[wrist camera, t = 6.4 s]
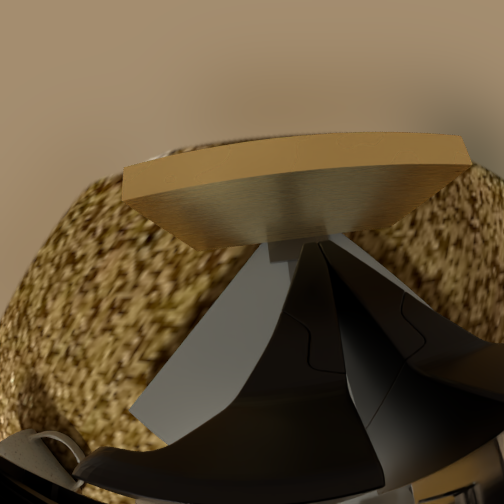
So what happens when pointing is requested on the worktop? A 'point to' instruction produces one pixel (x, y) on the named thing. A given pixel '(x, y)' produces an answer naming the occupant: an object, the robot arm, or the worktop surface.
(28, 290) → the worktop surface
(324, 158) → the brass paddle
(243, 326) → the panel
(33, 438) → the ceramic mug
